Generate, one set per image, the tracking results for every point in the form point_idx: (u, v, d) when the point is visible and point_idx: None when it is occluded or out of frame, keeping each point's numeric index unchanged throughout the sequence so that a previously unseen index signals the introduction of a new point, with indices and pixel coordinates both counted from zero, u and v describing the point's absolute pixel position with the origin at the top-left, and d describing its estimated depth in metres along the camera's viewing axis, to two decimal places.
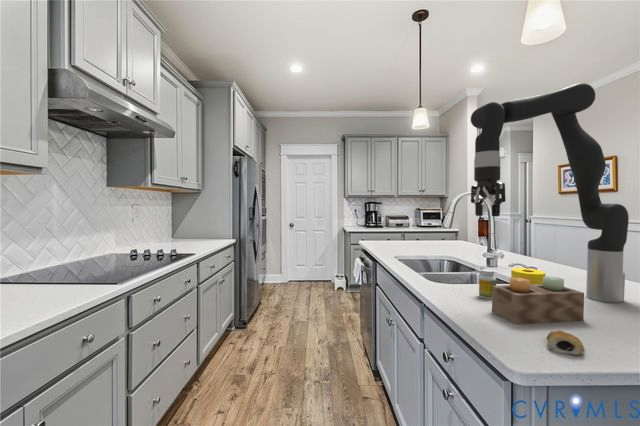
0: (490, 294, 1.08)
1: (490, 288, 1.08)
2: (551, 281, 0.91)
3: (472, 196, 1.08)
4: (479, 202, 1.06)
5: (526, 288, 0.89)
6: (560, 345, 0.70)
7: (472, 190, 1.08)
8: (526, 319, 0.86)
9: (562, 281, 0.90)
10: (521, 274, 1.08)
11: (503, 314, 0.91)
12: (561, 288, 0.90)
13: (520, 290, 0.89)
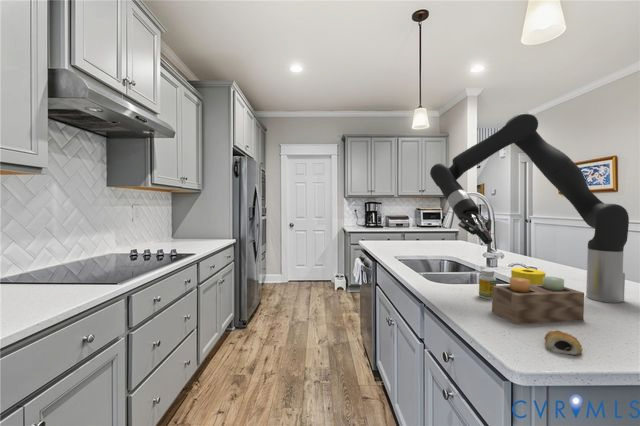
0: (490, 294, 1.08)
1: (490, 288, 1.08)
2: (551, 281, 0.91)
3: None
4: None
5: (526, 288, 0.89)
6: (558, 344, 0.70)
7: None
8: (526, 319, 0.86)
9: (562, 281, 0.90)
10: (521, 274, 1.08)
11: (503, 314, 0.91)
12: (561, 288, 0.90)
13: (520, 290, 0.89)
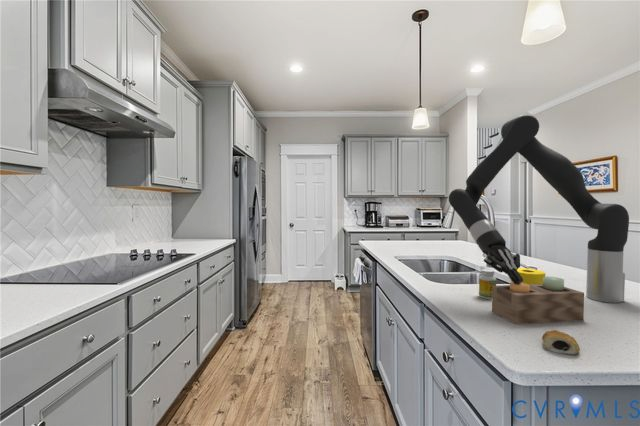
0: (490, 294, 1.08)
1: (490, 288, 1.08)
2: (551, 281, 0.91)
3: None
4: None
5: None
6: (556, 344, 0.70)
7: None
8: (526, 319, 0.86)
9: (562, 281, 0.90)
10: (521, 274, 1.08)
11: (503, 314, 0.91)
12: (561, 288, 0.90)
13: None
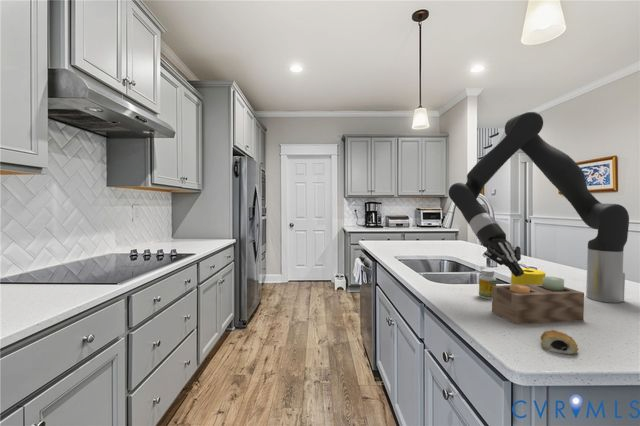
0: (490, 294, 1.08)
1: (490, 288, 1.08)
2: (551, 281, 0.91)
3: None
4: None
5: None
6: (554, 344, 0.70)
7: None
8: (526, 319, 0.86)
9: (562, 281, 0.90)
10: None
11: (503, 314, 0.91)
12: (561, 288, 0.90)
13: None
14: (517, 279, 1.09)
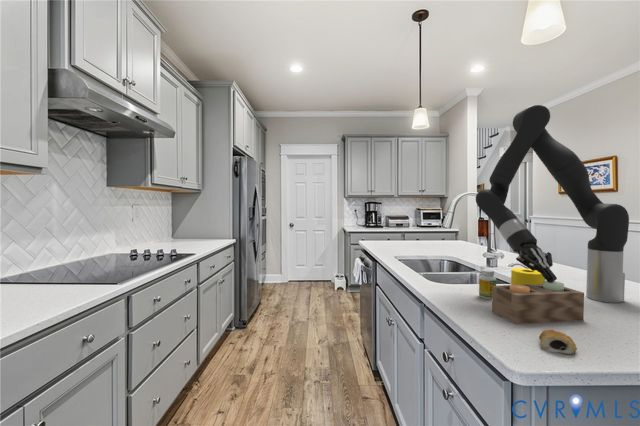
0: (490, 294, 1.08)
1: (490, 288, 1.08)
2: (551, 285, 0.91)
3: None
4: None
5: None
6: (553, 344, 0.70)
7: None
8: (526, 319, 0.86)
9: (562, 285, 0.90)
10: (521, 274, 1.08)
11: (503, 314, 0.91)
12: None
13: None
14: (517, 279, 1.09)
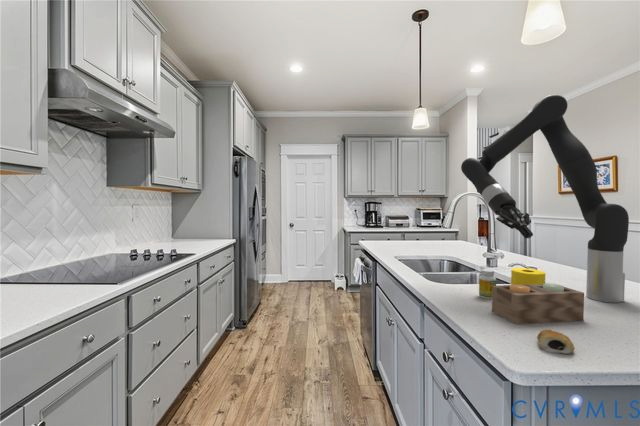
0: (490, 294, 1.08)
1: (490, 288, 1.08)
2: (551, 288, 0.91)
3: None
4: None
5: None
6: (551, 344, 0.70)
7: None
8: (526, 319, 0.86)
9: (562, 288, 0.91)
10: (521, 274, 1.08)
11: (503, 314, 0.91)
12: None
13: None
14: (517, 279, 1.09)
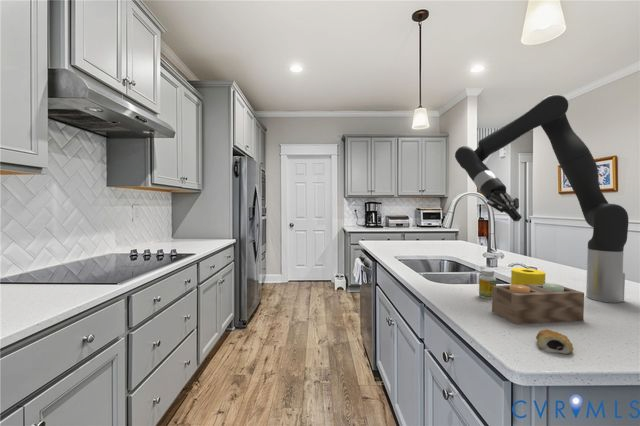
0: (490, 294, 1.08)
1: (490, 288, 1.08)
2: (551, 288, 0.91)
3: None
4: None
5: None
6: (550, 344, 0.70)
7: None
8: (526, 319, 0.86)
9: (562, 288, 0.91)
10: (521, 274, 1.08)
11: (503, 314, 0.91)
12: None
13: None
14: (517, 279, 1.09)
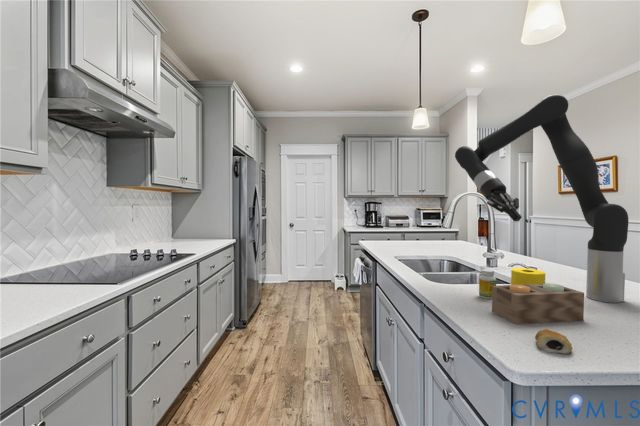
0: (490, 294, 1.08)
1: (490, 288, 1.08)
2: (551, 288, 0.91)
3: None
4: None
5: None
6: (550, 344, 0.70)
7: None
8: (526, 319, 0.86)
9: (562, 288, 0.91)
10: (521, 274, 1.08)
11: (503, 314, 0.91)
12: None
13: None
14: (517, 279, 1.09)
